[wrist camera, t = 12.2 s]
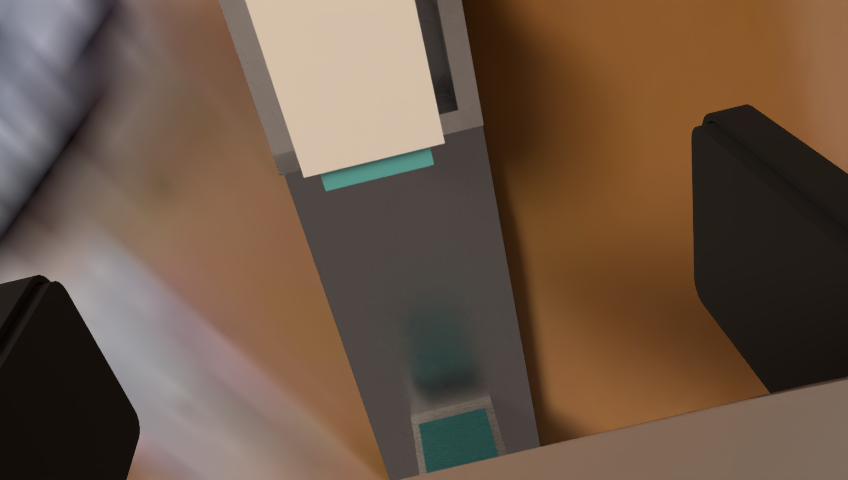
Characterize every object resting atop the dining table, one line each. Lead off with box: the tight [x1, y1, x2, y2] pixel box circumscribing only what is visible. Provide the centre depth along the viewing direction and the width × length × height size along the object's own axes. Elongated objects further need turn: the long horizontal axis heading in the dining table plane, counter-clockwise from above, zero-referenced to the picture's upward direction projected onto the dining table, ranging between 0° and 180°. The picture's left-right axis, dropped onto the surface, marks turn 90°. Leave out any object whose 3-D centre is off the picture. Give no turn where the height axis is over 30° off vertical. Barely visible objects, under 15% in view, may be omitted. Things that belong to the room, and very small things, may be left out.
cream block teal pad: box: [245, 0, 445, 191], centre depth 23 cm, size 4×6×8 cm
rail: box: [219, 0, 540, 480], centre depth 29 cm, size 32×8×10 cm, turn 12°
